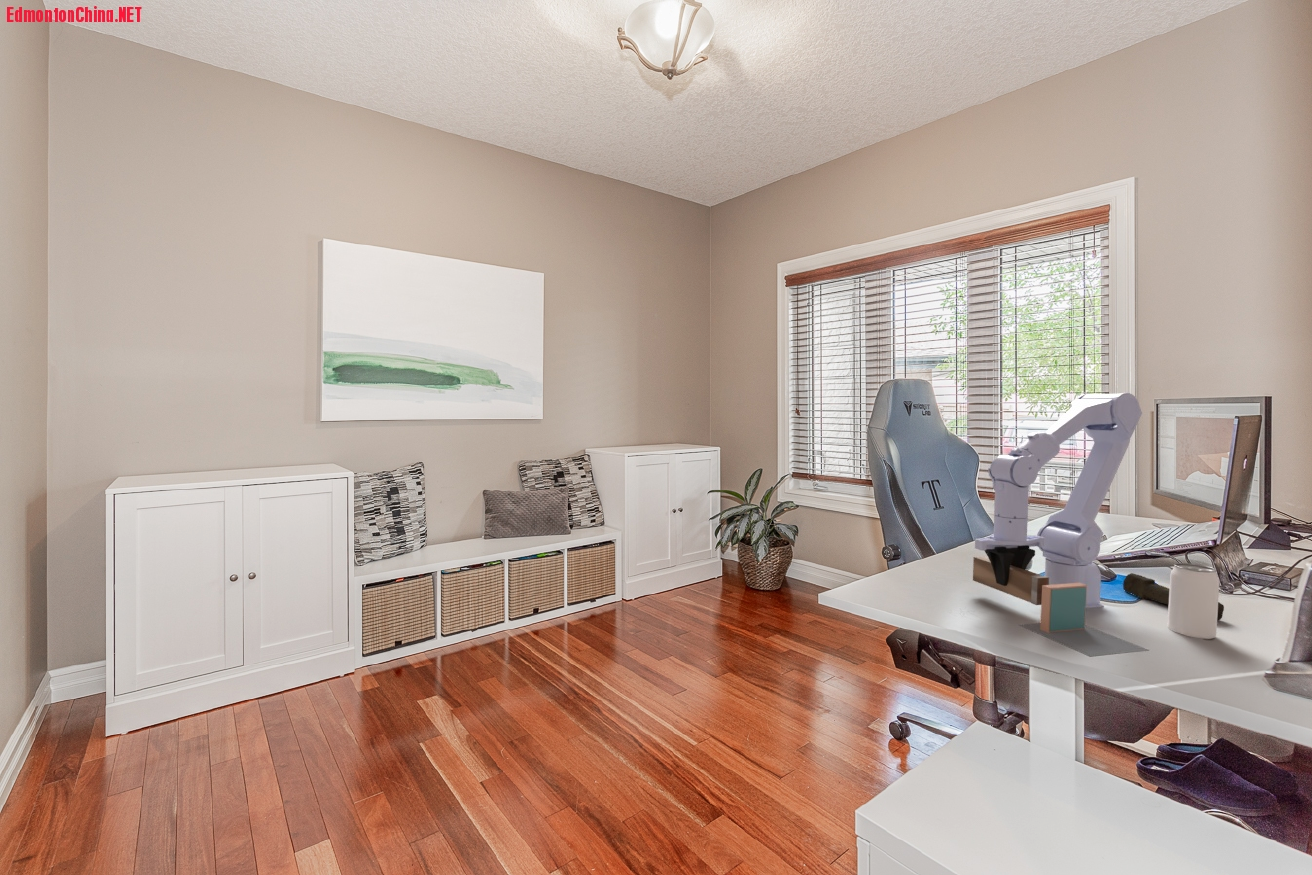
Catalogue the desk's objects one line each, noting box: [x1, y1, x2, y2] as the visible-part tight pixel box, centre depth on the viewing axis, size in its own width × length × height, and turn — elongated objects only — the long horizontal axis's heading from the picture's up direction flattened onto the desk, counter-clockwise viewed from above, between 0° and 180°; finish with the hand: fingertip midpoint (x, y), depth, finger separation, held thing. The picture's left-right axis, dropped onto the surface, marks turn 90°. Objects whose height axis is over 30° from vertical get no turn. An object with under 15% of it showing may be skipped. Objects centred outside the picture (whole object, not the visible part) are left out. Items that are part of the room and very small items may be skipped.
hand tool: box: [1122, 572, 1225, 622], centre depth 122 cm, size 19×4×5 cm, turn 6°
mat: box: [1019, 622, 1149, 657], centre depth 104 cm, size 12×14×1 cm
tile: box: [1040, 583, 1087, 633], centre depth 107 cm, size 8×2×8 cm, turn 103°
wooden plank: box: [972, 556, 1049, 606], centre depth 119 cm, size 3×16×5 cm, turn 13°
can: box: [1167, 562, 1220, 641], centre depth 106 cm, size 6×6×12 cm
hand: (1008, 583), depth 119 cm, fingers closed on wooden plank, 2 cm apart
